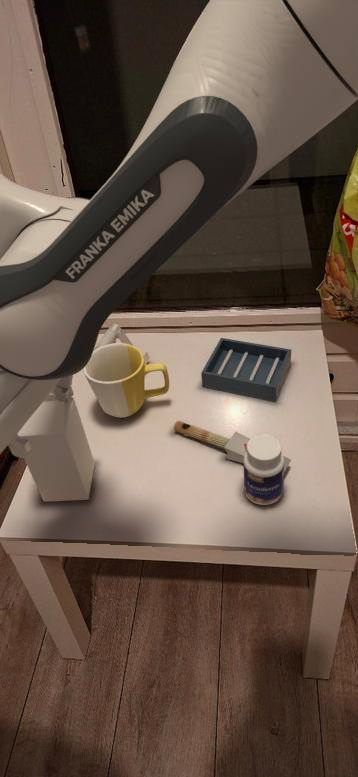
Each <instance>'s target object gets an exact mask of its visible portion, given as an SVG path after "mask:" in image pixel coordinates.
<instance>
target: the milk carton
mask: <svg viewBox="0 0 358 777" xmlns="http://www.w3.org/2000/svg"><path fill="white" fill-rule="evenodd" d="M83 425H84V424H83V422H82V419H81V416H80V413H79V409H78V407H77V404H76V401H75V397H73V396H72V397H71V398H70V400H69V401H68V402H67V403H65V402H63V401H62V402H60V401H58V400H57V399H56V397H55V394H54V393H53V391H52V392H51V393H50V394H49V395H48V396H47V398H46V399H45V400H44V401H43V403H42V404H41V405H40V406H39V407H38V409H37V410H36V411H35V412H34V414H33V415H32V416H31V417H30V419H29V420H28V421H27V422H26V423H25V425H24V426H23V427H22V428H21V430H20V431H19V432H18V433H17V434H18V436H19V437H20V438H21V439H23V438H24V439H27V440H29V443H30V446H31V447H32V448H31V450H30V451H29V453H28V454H27V455H26V457H25V458H23V459H24V461H25V463H26V466H27V468H28V471H29V472H30V475H31V477H32V480H33V481H34V484H35V486H36V488H37V490H38V493H39V495H40V497H41V499H42V501H43V502H65V501H87V500H88V501H89V499H90V493H91V487H92V482H93V476H94V471H95V463H96V462H95V460H94V457H93V454H92V451H91V447H90V444H89V440H88V438H87V435H86V432H85V429H84V426H83Z"/></svg>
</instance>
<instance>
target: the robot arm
mask: <svg viewBox="0 0 358 777" xmlns="http://www.w3.org/2000/svg"><path fill="white" fill-rule="evenodd" d="M356 101H358V0H209V2H208V3H207V4H206V6H205V8H204V9H203V11H202V12H201V14H200V15H199V17H198V19H197V20H196V22H195V24H194V25H193V27H192V29H191V31H190V32H189V34H188V36H187V38H186V40H185V42H184V43H183V45H182V46H181V49H180V50H179V53H178V55H177V56H176V59H175V60H174V62H173V65H172V67H171V69H170V70H169V74H168V75H167V77H166V80H165V82H164V84H163V86H162V88H161V90H160V92H159V94H158V97H157V99H156V100H155V103H154V105H153V107H152V108H151V111H150V113H149V115H148V117H147V119H146V121H145V123H144V125H143V127H142V129H141V130H140V132H139V134H138V136H137V138H136V139H135V141H134V142H133V144H132V146H131V148H130V150H129V151H128V153H127V154H126V156H124V158H123V160H122V162H121V163H120V165H118V167H117V169H116V170H115V171H114V172H113V173H112V175H111V176H110V177H109V178H108V179H107V180H106V182H105V183H104V184H103V185H102V186H101V187H100V188H99V189H98V191H97V192H96V193H95V194H94V195H93V196H92V197H91V198H85V197H80V196H79V197H78V196H70V197H63V196H57V195H52V194H48V193H45V192H41V191H37V190H34V189H32V188H28V187H25V186H22V185H20V184H18V183H16V182H14V181H12V180H10V179H9V178H7V177H6V176H5V175H4V174H2V173H1V172H0V455H2V453H3V452H4V451H5V449H6V448H7V447H8V448H9V450H10V452H11V454H12V455H13V456H14V457H17V458H20V459H24V458H25V457H26V455H27V454H28V453H29V451H30V450H31V448H32V447H31V446H30V443H29V440H27V439H24V438H23V439H21V438H20V437H19V436H18V434H17V433H18V432H19V431H20V430H21V428H22V427H23V426H24V425H25V423H26V422H27V421H28V420H29V419H30V417H31V416H32V415H33V414H34V412H35V411H36V410H37V409H38V407H39V406H40V405H41V404H42V403H43V401H44V400H45V399H46V398H47V396H48V395H49V394H50V393H51V392H52V393H53V394H55V397H56V399H57V400H58V401H60V402H62V401H63V402H65V403H67V402H68V401H69V400H70V398H71V397H73V396H74V395H75V394H74V390H73V386H72V385H73V377H74V375H76V374H77V373H79V372H81V371H83V368H84V367H85V366H86V365H87V363H88V362H89V360H90V358H91V356H92V353H93V350H94V349H95V347H96V346H97V341H98V338H99V335H100V332H101V329H102V327H103V325H104V324H105V322H106V321H107V320H108V318H110V316H111V315H112V314H113V313H114V311H116V310H117V308H119V307H120V306H121V305H122V304H123V303H124V302H125V301H126V300H127V299H128V298H129V297H130V296H131V295H132V294H133V293H134V292H135V291H137V289H139V288H140V287H141V286H142V285H143V284H144V283H145V282H146V281H147V280H148V279H149V278H150V277H151V276H152V275H154V273H155V272H157V270H159V269H160V268H161V267H162V266H163V265H164V264H165V263H166V262H167V261H168V260H169V259H170V258H171V257H172V256H173V255H174V254H175V253H177V251H179V249H180V248H181V247H183V246H184V245H185V244H186V243H187V242H188V241H189V240H190V239H191V238H192V237H193V236H194V235H195V234H196V233H197V232H198V231H199V230H200V229H201V228H203V226H204V225H205V224H206V223H207V222H208V221H210V220H211V219H212V218H213V217H214V216H215V215H216V214H217V213H218V212H219V211H220V210H222V209H223V208H224V207H226V206H227V205H229V204H230V203H231V202H232V201H234V200H235V199H236V198H237V197H239V196H240V195H241V194H243V192H244V191H246V190H247V189H248V188H249V187H250V186H252V185H253V184H254V183H256V182H257V181H258V180H259V179H260V178H261V177H263V176H264V175H265V174H266V173H267V172H269V171H270V170H271V169H273V167H275V166H276V165H277V164H279V163H280V162H281V161H283V160H284V159H286V158H287V157H288V156H289V155H291V154H292V153H293V152H295V151H296V150H297V149H298V148H300V147H301V146H303V144H305V143H307V141H309V140H310V139H311V138H312V137H313V136H315V135H316V134H318V132H320V131H321V130H323V129H324V128H325V127H326V126H328V125H329V124H330V123H331V122H332V121H334V120H336V119H337V118H338V117H339V116H340V115H341V114H342V113H344V112H345V111H346V110H347V109H348V108H349V107H351V106H352V105H353V104H354V103H355V102H356Z"/></svg>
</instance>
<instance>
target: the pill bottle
mask: <svg viewBox="0 0 358 777" xmlns="http://www.w3.org/2000/svg"><path fill="white" fill-rule="evenodd" d="M249 439H250V440H249V441H248V444H247V452H246V453H245V456H244V463H243V489H244V490H243V492H244V494H245V497H246V498H248V500H250V502H252V503H254V504H257V505H260V506H269V505H272V504H275V503H276V502H278V501H279V500H280V499H281V497H282V495H283V493H284V492H283V491H284V480H285V479H284V478H285V477H284V476H285V472H284V464H285V463H284V456H285V455H284V454H283V452H282V444H281V442H280V441H279V440H278V438H276V437H275V436H273V435H271V434H267V433H260V434H256V435H254V436H252V437H251V438H249Z"/></svg>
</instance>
